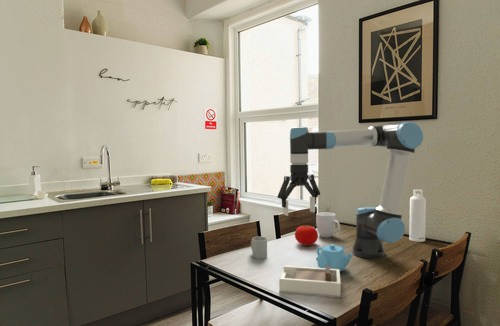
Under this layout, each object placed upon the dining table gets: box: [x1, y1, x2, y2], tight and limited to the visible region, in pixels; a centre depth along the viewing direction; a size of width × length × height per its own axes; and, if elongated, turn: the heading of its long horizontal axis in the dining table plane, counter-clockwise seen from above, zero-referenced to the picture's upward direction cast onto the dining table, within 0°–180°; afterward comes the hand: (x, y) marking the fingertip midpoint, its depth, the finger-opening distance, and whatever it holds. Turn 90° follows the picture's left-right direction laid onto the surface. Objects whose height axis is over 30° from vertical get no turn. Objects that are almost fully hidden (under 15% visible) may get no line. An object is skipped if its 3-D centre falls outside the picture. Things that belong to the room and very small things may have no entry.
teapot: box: [316, 243, 354, 272], centre depth 150 cm, size 15×14×11 cm
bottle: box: [408, 188, 427, 243], centre depth 194 cm, size 8×8×28 cm
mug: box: [315, 211, 341, 238], centre depth 203 cm, size 15×11×13 cm
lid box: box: [278, 265, 342, 298], centre depth 134 cm, size 22×14×5 cm, turn 77°
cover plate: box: [295, 265, 333, 282], centre depth 133 cm, size 14×11×4 cm
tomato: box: [294, 224, 319, 246], centre depth 188 cm, size 11×12×10 cm
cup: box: [250, 236, 268, 260], centre depth 171 cm, size 7×10×9 cm
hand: (299, 213), depth 149 cm, fingers open, 13 cm apart
